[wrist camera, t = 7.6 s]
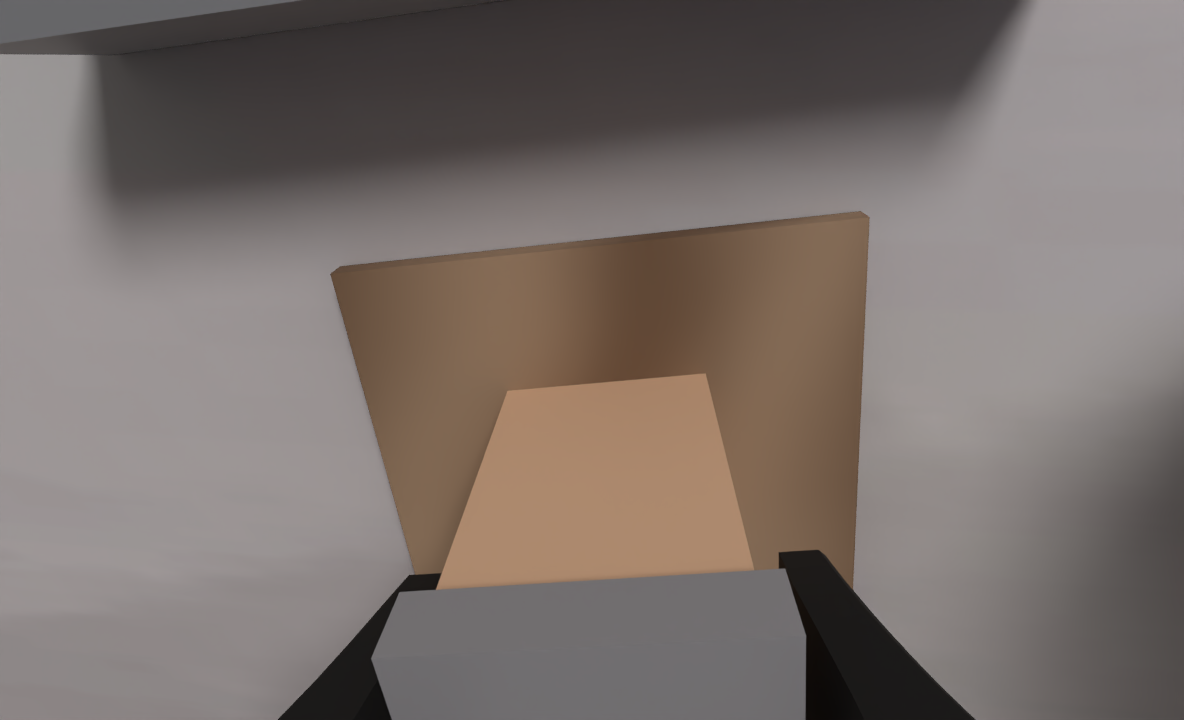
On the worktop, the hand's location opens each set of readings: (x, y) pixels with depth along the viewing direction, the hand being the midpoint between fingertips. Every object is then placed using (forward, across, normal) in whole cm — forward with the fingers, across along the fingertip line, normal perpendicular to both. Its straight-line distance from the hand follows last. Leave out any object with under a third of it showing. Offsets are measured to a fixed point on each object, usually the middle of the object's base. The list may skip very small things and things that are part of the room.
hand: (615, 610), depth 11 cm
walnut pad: (+4, 0, 0) cm, 4 cm away
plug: (+4, 0, 0) cm, 4 cm away
